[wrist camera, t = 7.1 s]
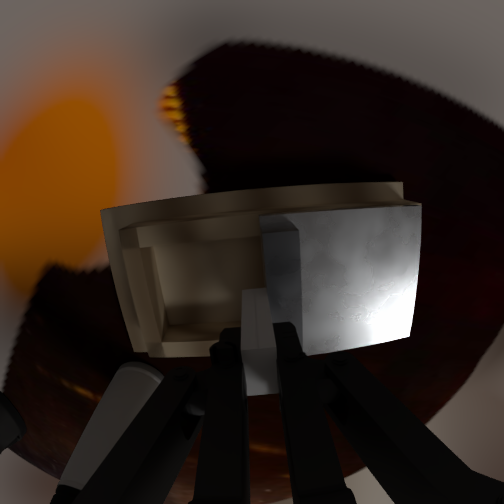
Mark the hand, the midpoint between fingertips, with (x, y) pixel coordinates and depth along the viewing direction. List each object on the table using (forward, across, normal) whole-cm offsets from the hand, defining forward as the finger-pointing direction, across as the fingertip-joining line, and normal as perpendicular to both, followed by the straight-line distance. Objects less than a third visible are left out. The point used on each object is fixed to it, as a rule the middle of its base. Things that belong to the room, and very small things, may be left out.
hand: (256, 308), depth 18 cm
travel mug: (+7, -14, -12) cm, 19 cm away
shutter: (+3, +7, 0) cm, 7 cm away
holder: (+7, 0, 0) cm, 7 cm away
